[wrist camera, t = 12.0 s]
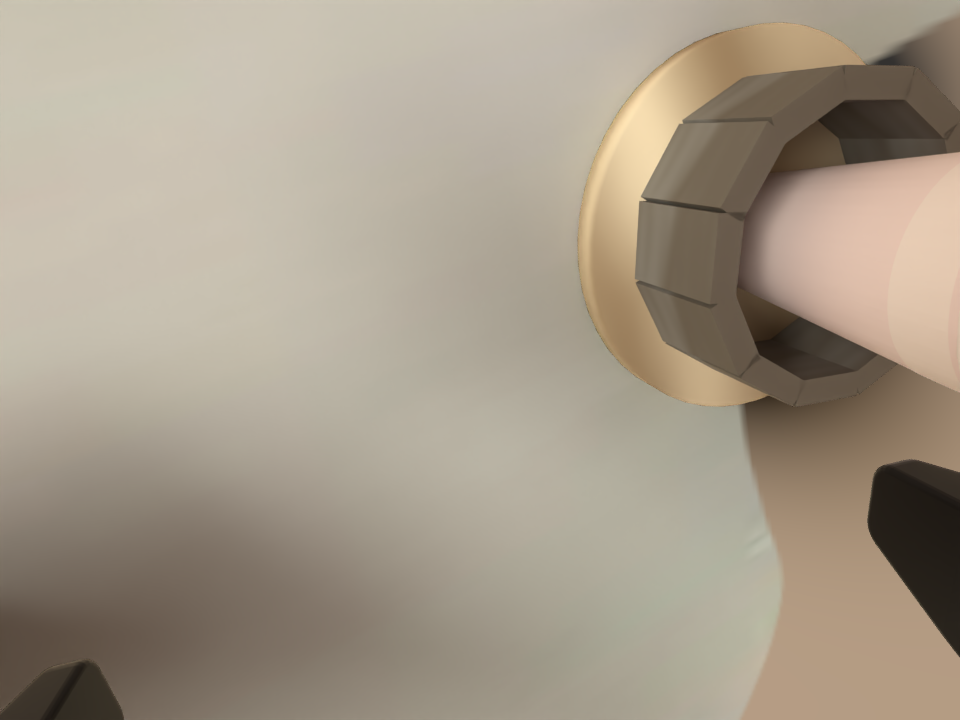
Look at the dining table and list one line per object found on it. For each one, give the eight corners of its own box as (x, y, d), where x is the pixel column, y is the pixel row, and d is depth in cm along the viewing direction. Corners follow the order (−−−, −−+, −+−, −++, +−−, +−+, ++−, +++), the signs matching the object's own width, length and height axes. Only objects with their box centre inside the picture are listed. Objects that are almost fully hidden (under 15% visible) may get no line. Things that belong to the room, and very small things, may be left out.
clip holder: (664, 459, 24) (752, 523, 20) (510, 166, 19) (588, 174, 15) (905, 271, 26) (1032, 296, 22) (825, -51, 20) (974, -96, 16)
